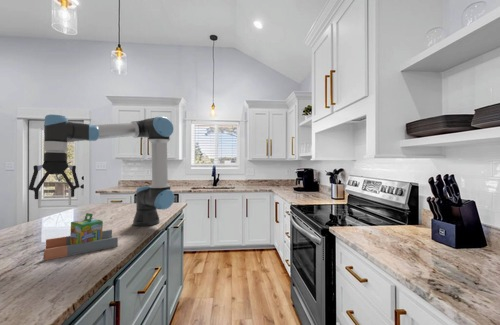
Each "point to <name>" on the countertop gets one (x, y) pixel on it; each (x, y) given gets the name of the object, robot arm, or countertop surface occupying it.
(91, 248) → the channel
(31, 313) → the countertop surface
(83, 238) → the chalk box
